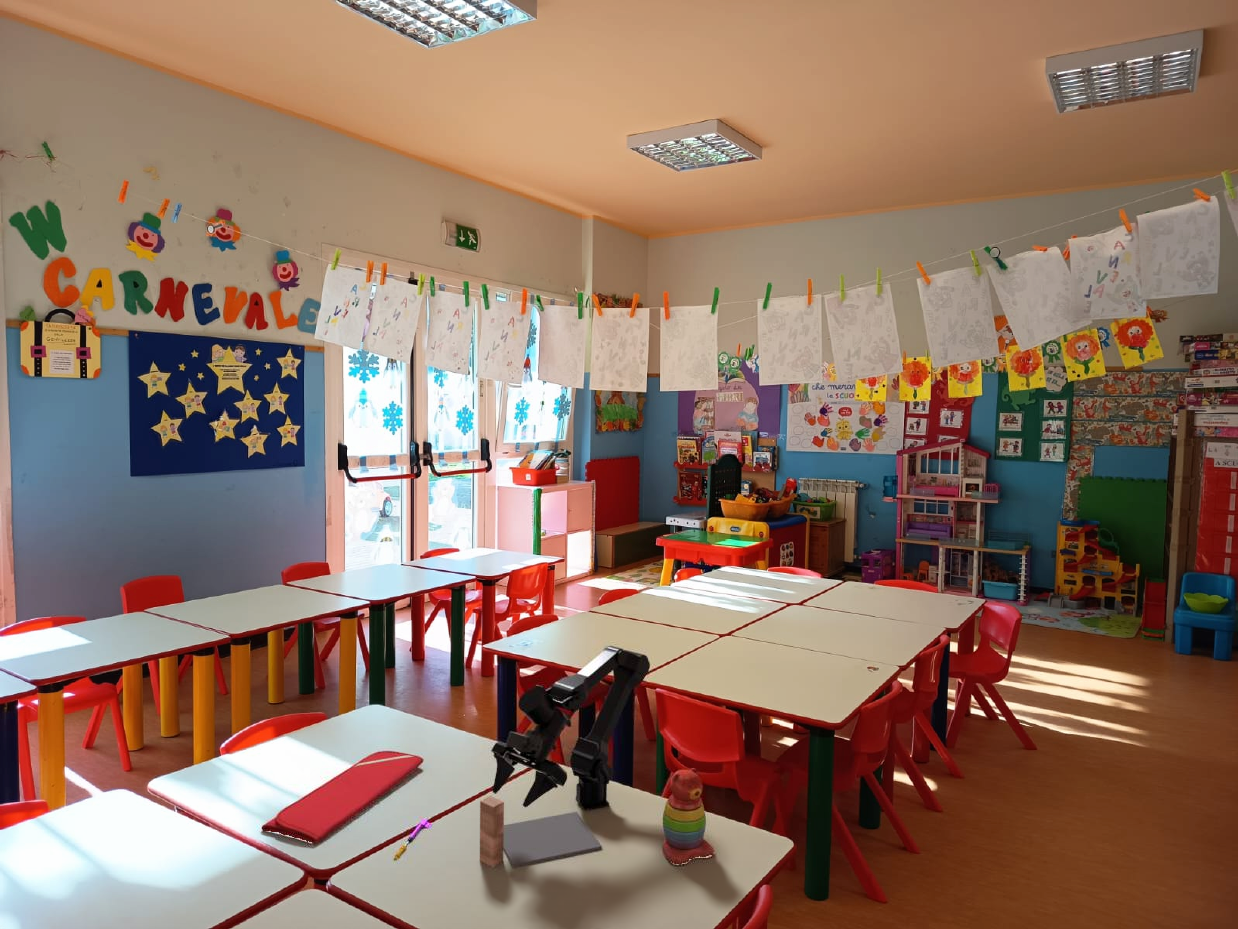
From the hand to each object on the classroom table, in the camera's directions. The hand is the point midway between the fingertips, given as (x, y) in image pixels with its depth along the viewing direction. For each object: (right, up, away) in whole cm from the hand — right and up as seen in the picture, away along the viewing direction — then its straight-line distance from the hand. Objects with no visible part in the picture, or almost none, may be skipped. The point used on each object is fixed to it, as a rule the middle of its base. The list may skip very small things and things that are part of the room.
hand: (508, 799), depth 177 cm
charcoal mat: (+8, -11, +6) cm, 15 cm away
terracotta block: (-3, -12, -3) cm, 13 cm away
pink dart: (-21, -11, +4) cm, 25 cm away
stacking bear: (+38, -12, +3) cm, 40 cm away
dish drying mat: (-42, -9, +23) cm, 49 cm away
